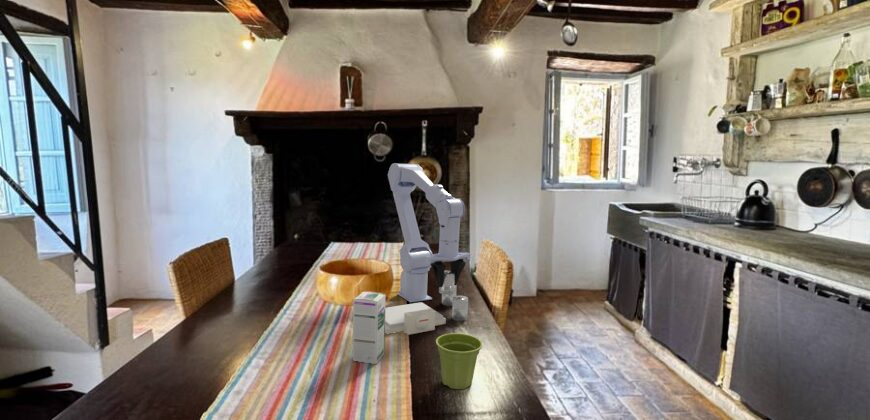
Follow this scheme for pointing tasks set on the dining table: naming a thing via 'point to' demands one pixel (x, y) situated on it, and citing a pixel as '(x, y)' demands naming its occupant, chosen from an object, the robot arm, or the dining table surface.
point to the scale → (412, 318)
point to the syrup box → (369, 327)
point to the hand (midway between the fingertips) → (446, 285)
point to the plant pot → (458, 358)
